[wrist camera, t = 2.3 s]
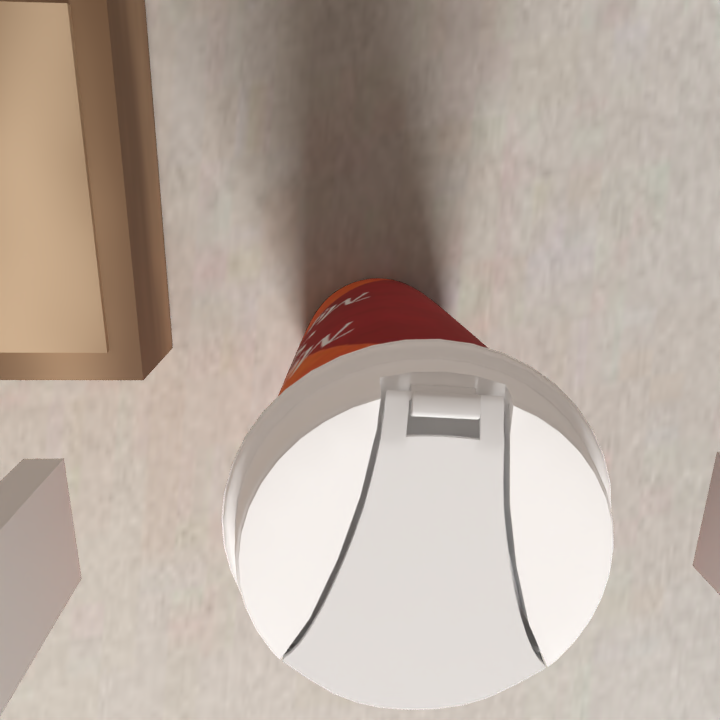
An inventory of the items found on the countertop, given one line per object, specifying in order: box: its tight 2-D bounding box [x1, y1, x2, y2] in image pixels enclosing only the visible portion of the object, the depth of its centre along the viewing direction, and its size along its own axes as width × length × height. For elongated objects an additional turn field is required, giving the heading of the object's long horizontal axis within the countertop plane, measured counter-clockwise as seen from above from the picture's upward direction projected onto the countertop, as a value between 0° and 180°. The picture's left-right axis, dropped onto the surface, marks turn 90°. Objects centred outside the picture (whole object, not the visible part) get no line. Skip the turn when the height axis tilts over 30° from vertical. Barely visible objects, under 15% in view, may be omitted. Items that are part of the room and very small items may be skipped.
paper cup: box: [222, 278, 614, 710], centre depth 17 cm, size 8×8×14 cm
